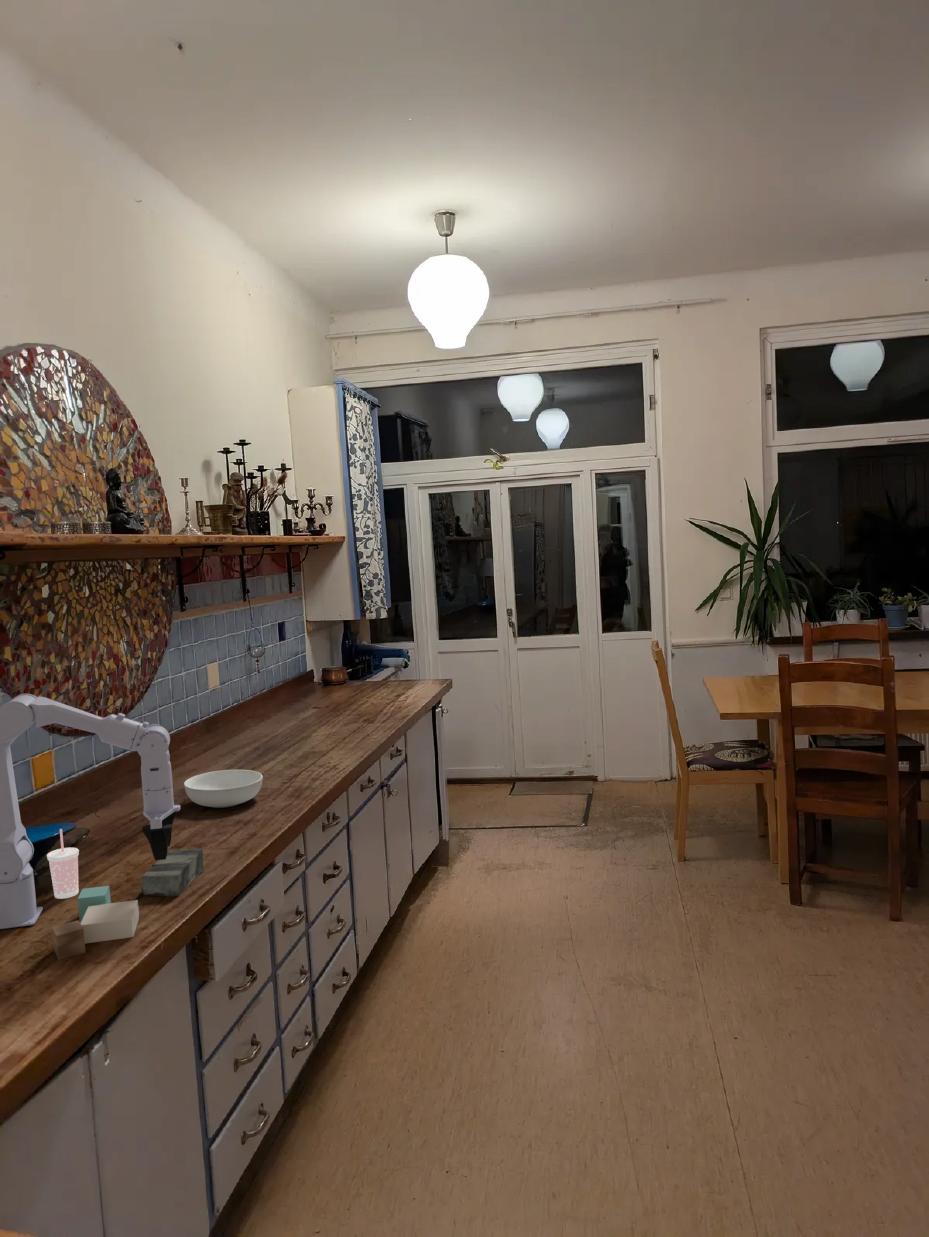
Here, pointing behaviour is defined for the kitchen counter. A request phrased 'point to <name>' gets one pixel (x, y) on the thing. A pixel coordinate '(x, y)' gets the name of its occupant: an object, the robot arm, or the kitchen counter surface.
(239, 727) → the kitchen counter surface
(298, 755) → the kitchen counter surface
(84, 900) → the teal cube
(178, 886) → the stone block
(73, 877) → the beverage cup
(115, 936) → the ceramic base
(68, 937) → the walnut cube
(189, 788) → the serving bowl
